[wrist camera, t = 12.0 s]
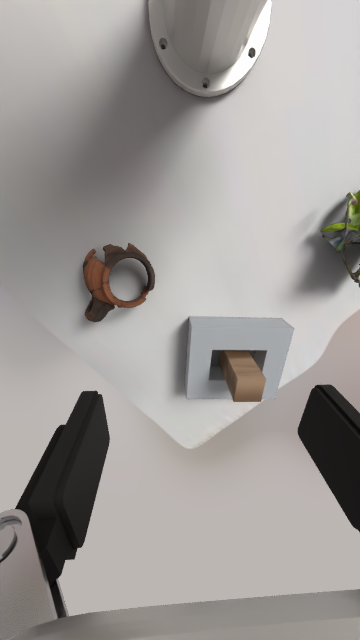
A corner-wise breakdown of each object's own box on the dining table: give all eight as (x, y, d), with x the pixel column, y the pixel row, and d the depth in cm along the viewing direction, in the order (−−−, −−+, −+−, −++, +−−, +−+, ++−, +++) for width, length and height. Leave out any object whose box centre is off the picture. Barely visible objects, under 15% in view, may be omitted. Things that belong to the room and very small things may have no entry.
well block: (189, 316, 37) (191, 326, 33) (281, 318, 38) (294, 328, 34) (184, 384, 42) (186, 399, 38) (265, 383, 43) (275, 398, 40)
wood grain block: (220, 343, 39) (237, 379, 30) (243, 343, 39) (266, 378, 30) (218, 362, 41) (233, 401, 31) (239, 362, 41) (260, 401, 32)
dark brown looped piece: (93, 227, 31) (112, 228, 25) (146, 259, 37) (172, 266, 31) (58, 303, 32) (68, 323, 26) (116, 322, 38) (135, 342, 32)
